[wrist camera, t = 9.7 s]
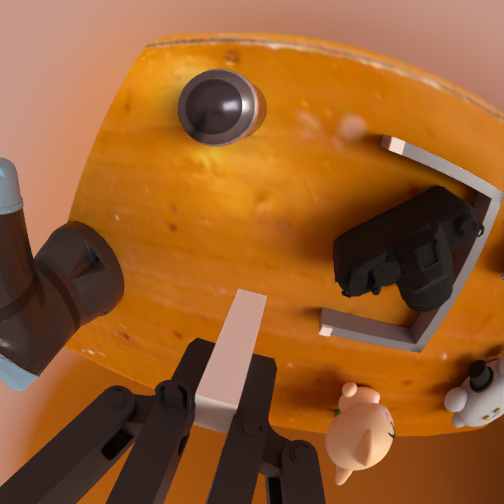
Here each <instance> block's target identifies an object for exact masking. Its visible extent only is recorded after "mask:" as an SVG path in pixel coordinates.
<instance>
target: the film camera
mask: <svg viewBox="0 0 504 504" xmlns="http://www.w3.org/2000/svg"><path fill="white" fill-rule="evenodd" d="M478 229H480V230H481V233H480V235H478V234H479V232H478ZM484 229H485V228H484V226H483V225H482V223H479V220H478V215H477V212H476V211H475V210H474V209H473V207H472V206H471V205H470V204H469V203H468V202H465V201H464V200H462V199H461V198H459V197H458V196H456V195H455V194H453V193H452V192H450V191H449V190H447V189H446V188H445V187H441V186H437V187H435V188H432V189H430V190H428V191H426V192H425V193H422V194H420V195H418V196H416V197H414V198H412V199H410V200H408V201H406V202H404V203H402V204H400V205H398V206H396V207H394V208H392V209H390V210H388V211H386V212H384V213H382V214H380V215H378V216H376V217H374V218H372V219H370V220H368V221H366V222H364V223H362V224H360V225H358V226H356V227H355V228H353V229H351V230H349V231H347V232H345V233H344V234H342V235H340V236H339V237H338V238H337V239H336V240H335V241H334V250H333V252H334V254H333V260H334V273H335V282H338V283H339V286H340V287H341V288H342V289H343V290H344V291H342V292H341V293H342V295H344V296H346V297H348V298H351V296H353V297H355V296H361V295H363V294H365V293H368V292H370V291H371V292H372V293H373V295H378V294H379V293H380V291H381V286H388V285H392V284H394V283H396V284H397V286H398V288H399V291H400V294H401V297H402V299H403V300H404V301H405V302H406V304H407V305H408V306H409V308H411V309H413V310H415V311H419V312H427V311H431V310H433V309H436V308H438V307H440V306H442V305H443V304H444V303H445V302H446V301H447V300H448V299H449V298H450V297H451V294H452V291H453V286H452V285H453V272H452V271H453V260H452V256H451V253H452V252H453V251H455V250H457V249H459V248H461V247H462V246H464V245H465V244H467V243H470V242H471V241H472V240H473V239H474V238H475V237H476V236H477V237H478V238H479V237H480V236H481V235H483V234H484ZM346 292H347V293H348V294H347V293H346Z"/></svg>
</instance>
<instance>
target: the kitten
mask: <svg viewBox="0 0 504 504" xmlns="http://www.w3.org/2000/svg"><path fill="white" fill-rule="evenodd" d="M342 393H343V394H342V395H341V397H340V398H339V402H338V406H339V409H340V410H338V411H335V418H334V419H333V420H332V422H331V423H330V425H329V426H328V429H327V432H326V448H327V452H328V454H329V456H330V458H331V459H332V461H333V462H334V463H335V464H336V465H337V467H336V478H335V481H336V484H337V485H341V484H343V483H344V482H345V481H346V480H347V478H348V477H349V476H350V474H351V473H352V471H353V470H361V469H366V468H369V467H371V466H373V465H374V464H376V463H378V462H379V461H380V460H381V459H382V458H383V457H384V456H385V455H386V453H387V452H388V450H389V448H390V446H391V443H392V440H393V439H394V438H395V429H394V425H393V420H392V417H391V414H390V412H389V411H388V409H387V408H386V407H384V406H383V405H381V404H378V402H379V399H380V394H379V392H377V391H376V390H374V389H372V388H368V387H357V385H356V384H355V383H354V382H348V383H346V384H344V385H343V387H342ZM393 434H394V435H393Z"/></svg>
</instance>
